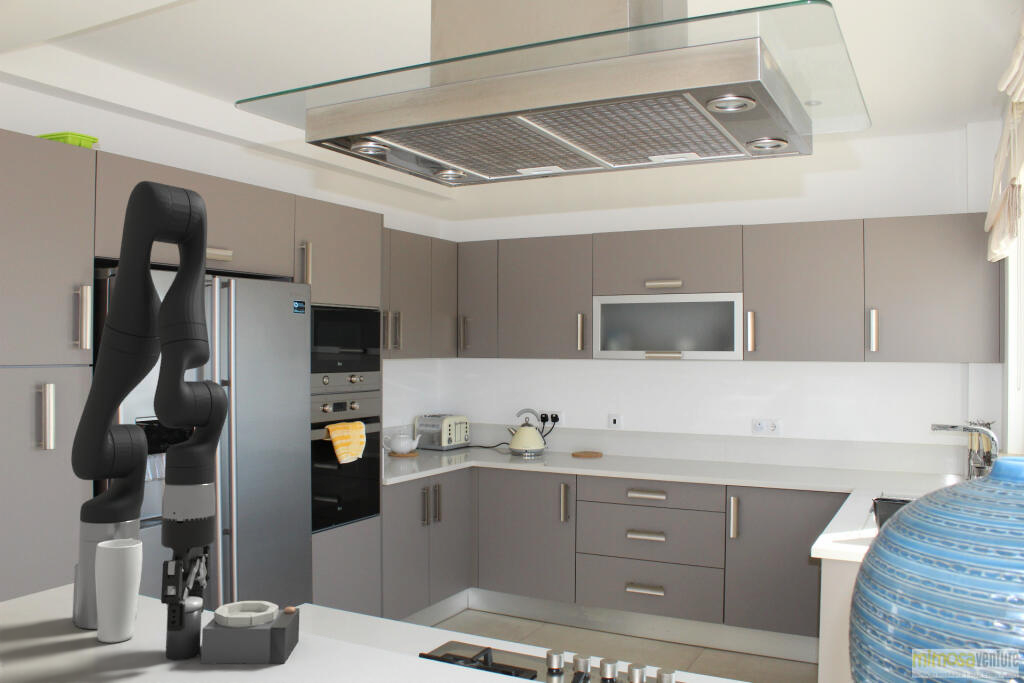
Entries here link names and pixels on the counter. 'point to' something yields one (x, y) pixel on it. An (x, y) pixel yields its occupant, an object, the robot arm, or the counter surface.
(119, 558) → the drinking glass
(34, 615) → the counter surface
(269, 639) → the block with octagonal ring
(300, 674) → the counter surface
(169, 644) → the dark capped cylinder
